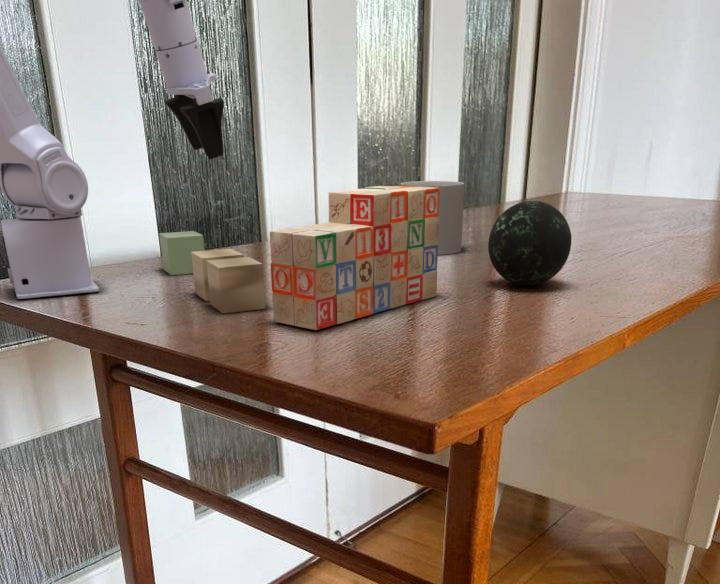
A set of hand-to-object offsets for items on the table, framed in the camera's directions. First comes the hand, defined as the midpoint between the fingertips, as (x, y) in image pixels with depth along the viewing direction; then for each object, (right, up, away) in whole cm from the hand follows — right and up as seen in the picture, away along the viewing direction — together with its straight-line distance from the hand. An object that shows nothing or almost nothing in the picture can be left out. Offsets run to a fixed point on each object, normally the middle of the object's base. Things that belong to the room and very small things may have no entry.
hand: (208, 152), depth 107 cm
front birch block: (+8, -27, -21) cm, 35 cm away
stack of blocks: (+22, -28, -23) cm, 42 cm away
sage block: (-3, -17, 0) cm, 17 cm away
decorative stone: (+43, -22, -12) cm, 49 cm away
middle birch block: (+5, -24, -15) cm, 29 cm away
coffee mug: (+34, -9, +15) cm, 38 cm away
